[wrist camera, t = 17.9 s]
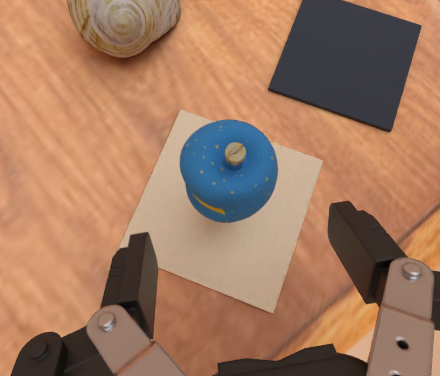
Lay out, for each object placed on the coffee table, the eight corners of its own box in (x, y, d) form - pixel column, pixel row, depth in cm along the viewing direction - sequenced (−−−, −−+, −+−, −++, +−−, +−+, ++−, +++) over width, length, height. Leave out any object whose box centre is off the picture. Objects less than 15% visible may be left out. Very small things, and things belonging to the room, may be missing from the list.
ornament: (184, 197, 28) (146, 131, 14) (232, 166, 29) (246, 70, 14) (217, 247, 27) (214, 233, 13) (266, 213, 28) (317, 163, 13)
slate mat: (419, 28, 32) (421, 25, 32) (389, 132, 30) (391, 130, 30) (306, -8, 33) (307, -12, 33) (268, 90, 31) (268, 87, 31)
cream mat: (322, 161, 29) (323, 160, 29) (272, 313, 27) (273, 313, 26) (181, 110, 30) (180, 108, 30) (118, 251, 28) (117, 251, 27)
